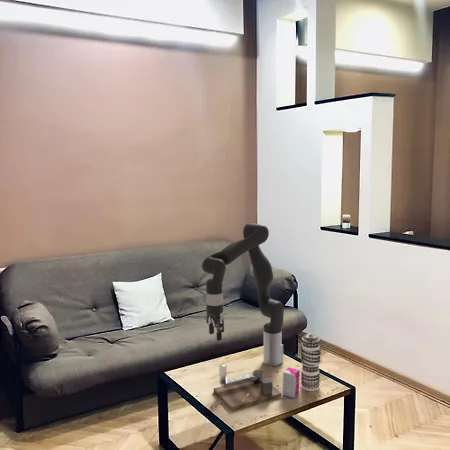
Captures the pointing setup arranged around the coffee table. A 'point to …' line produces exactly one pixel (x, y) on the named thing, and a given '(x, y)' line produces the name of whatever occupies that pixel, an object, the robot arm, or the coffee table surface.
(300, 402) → the coffee table surface
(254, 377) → the lever
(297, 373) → the supplement box
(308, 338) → the white patterned cylinder
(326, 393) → the coffee table surface
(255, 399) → the brown board
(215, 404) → the coffee table surface
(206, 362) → the coffee table surface
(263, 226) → the robot arm
